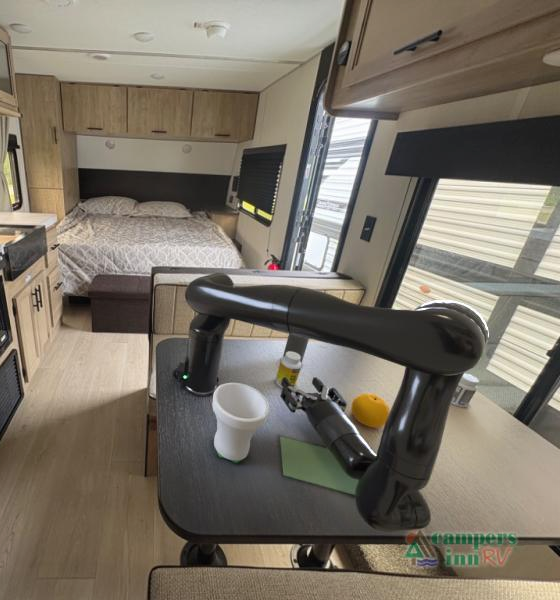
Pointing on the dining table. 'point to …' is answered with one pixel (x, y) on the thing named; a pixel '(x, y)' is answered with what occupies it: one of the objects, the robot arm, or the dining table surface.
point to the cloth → (314, 466)
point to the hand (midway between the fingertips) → (298, 379)
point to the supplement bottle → (289, 368)
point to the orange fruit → (370, 410)
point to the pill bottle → (465, 390)
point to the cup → (237, 418)
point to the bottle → (296, 345)
